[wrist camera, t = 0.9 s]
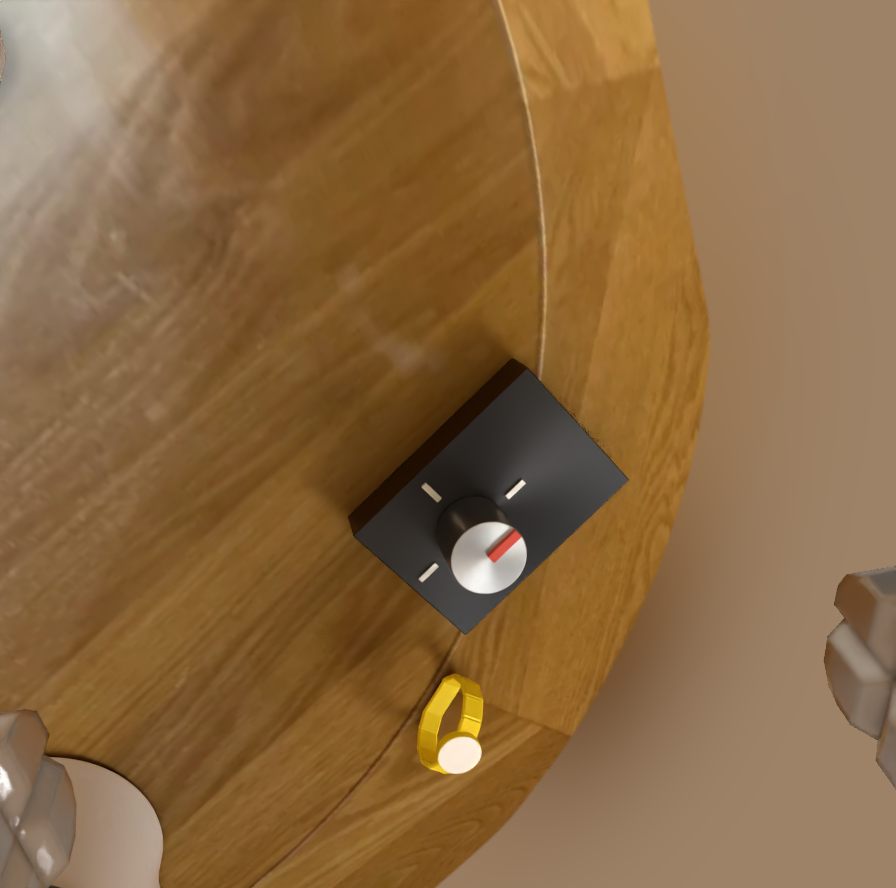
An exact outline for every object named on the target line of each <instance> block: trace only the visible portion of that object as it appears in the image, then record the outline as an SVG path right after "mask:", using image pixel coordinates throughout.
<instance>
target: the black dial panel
mask: <svg viewBox="0 0 896 888" xmlns="http://www.w3.org/2000/svg"><path fill="white" fill-rule="evenodd" d="M627 481H629V479H628V478H627V477H626V476H625V475H624V474H623V472H622V471H621V470H620V469H619V468H618V467H617V466H616V465H615V464H614V462H613V461H612V460H611V459H610V458H609V457H608V456H607V455H606V454H605V453H604V451H603V450H602V449H601V448H600V447H599V446H598V445H597V444H596V443H595V441H594V440H593V439H592V438H591V437H590V436H589V435H588V434H587V433H586V432H585V430H584V429H583V428H582V427H581V426H580V425H579V424H578V423H577V422H576V420H575V419H574V418H573V417H572V416H571V415H570V414H569V413H568V412H567V411H566V409H565V408H564V407H563V406H562V405H561V404H560V403H559V402H558V401H557V399H556V398H555V397H554V396H553V395H552V394H551V393H550V392H549V391H548V390H547V388H546V387H545V386H544V385H543V384H542V383H541V382H540V381H539V380H538V378H537V377H536V376H535V375H534V374H533V373H532V372H531V371H530V370H529V369H528V368H527V367H526V366H524V365H523V364H521V363H520V362H518V361H517V360H515V359H514V358H512V359H511V360H510V361H509V362H508V363H507V364H506V365H505V366H504V367H502V368H501V369H500V370H499V371H498V372H497V373H496V374H495V375H494V376H493V377H492V378H491V379H490V380H489V381H488V382H487V383H486V384H485V385H484V386H483V387H482V388H481V389H480V390H479V391H478V392H477V393H476V394H475V395H474V396H473V397H471V398H470V399H469V400H468V401H467V402H466V403H465V404H464V405H463V406H462V407H461V408H460V409H459V410H458V411H457V412H456V413H455V414H454V415H453V416H452V417H451V418H450V419H449V420H448V421H447V422H446V423H445V424H444V425H443V426H441V427H440V428H439V429H438V430H437V431H436V432H435V433H434V434H433V435H432V436H431V437H430V438H429V439H428V440H427V441H426V442H425V443H424V444H423V445H422V446H421V447H420V448H419V449H418V450H417V451H416V452H415V453H414V454H413V455H412V456H410V457H409V458H408V459H407V460H406V461H405V462H404V463H403V464H402V465H401V466H400V467H399V468H398V469H397V470H396V471H395V472H394V473H393V474H392V475H391V476H390V477H389V478H388V479H387V480H386V481H385V482H384V483H383V484H382V485H380V486H379V487H378V488H377V489H376V490H375V491H374V492H373V493H372V494H371V495H370V496H369V497H368V498H367V499H366V500H365V501H364V502H363V503H362V504H361V505H360V506H359V507H358V508H357V509H356V510H355V511H354V512H353V513H352V514H351V515H349V516H348V519H349V522H350V525H351V529H352V532H353V536H354V537H355V538H356V539H357V540H359V541H360V542H361V543H362V544H363V545H364V546H365V547H366V548H368V549H369V550H370V551H371V552H372V553H373V554H374V555H375V556H377V557H378V558H379V559H380V560H381V561H382V562H383V563H385V564H386V565H387V566H388V567H389V568H390V569H391V570H392V571H394V572H395V573H396V574H397V575H398V576H399V577H400V578H401V579H403V580H404V581H405V582H406V583H407V584H408V585H409V586H411V587H412V588H413V589H414V590H415V591H416V592H417V593H418V594H420V595H421V596H422V597H423V598H424V599H425V600H426V601H427V602H429V603H430V604H431V605H432V606H433V607H434V608H435V609H437V610H438V611H439V612H440V613H441V614H442V615H443V616H444V617H446V618H447V619H448V620H449V621H450V622H451V623H452V624H453V625H455V626H456V627H457V628H458V629H459V630H460V631H461V632H462V633H464V634H465V635H466V634H467V633H468V632H469V631H471V630H472V629H473V628H474V627H475V626H476V625H477V624H478V623H479V622H480V621H481V620H482V619H483V618H484V617H485V616H486V615H487V614H488V613H489V612H491V611H492V610H493V609H494V608H495V607H496V606H497V605H498V604H499V603H500V602H501V601H502V600H503V599H504V598H505V597H506V596H507V595H508V594H509V593H511V592H512V591H513V590H514V589H515V588H516V587H517V586H518V585H519V584H520V583H521V582H522V581H523V580H524V579H525V578H526V577H527V576H528V575H529V574H531V573H532V572H533V571H534V570H535V569H536V568H537V567H538V566H539V565H540V564H541V563H542V562H543V561H544V560H545V559H546V558H547V557H548V556H550V555H551V554H552V553H553V552H554V551H555V550H556V549H557V548H558V547H559V546H560V545H561V544H562V543H563V542H564V541H565V540H566V539H567V538H568V537H570V536H571V535H572V534H573V533H574V532H575V531H576V530H577V529H578V528H579V527H580V526H581V525H582V524H583V523H584V522H585V521H586V520H587V519H588V518H590V517H591V516H592V515H593V514H594V513H595V512H596V511H597V510H598V509H599V508H600V507H601V506H602V505H603V504H604V503H605V502H606V501H607V500H608V499H610V498H611V497H612V496H613V495H614V494H615V493H616V492H617V491H618V490H619V489H620V488H621V487H622V486H623V485H624V484H625V483H626V482H627ZM467 497H483V498H487V499H489V500H491V501H493V502H495V503H496V504H497V505H498V506H499V507H500V508H501V509H502V511H503V512H504V513H505V514H506V516H507V517H508V518H509V520H510V521H511V522H512V524H513V525H514V526H515V527H516V529H517V530H518V531H519V533H520V534H521V536H522V537H523V539H524V541H525V544H526V549H527V558H526V563H525V566H524V568H523V571H522V572H521V574H520V576H519V577H518V578H517V579H516V580H515V581H514V582H513V583H512V584H511V585H510V586H508V587H507V588H505V589H503V590H501V591H498V592H495V593H491V594H478V593H474V592H471V591H468V590H467V589H465V588H463V587H462V586H461V585H460V584H459V583H458V582H457V581H456V579H455V578H454V576H453V574H452V572H451V570H450V568H449V566H448V564H447V562H446V560H445V558H444V557H443V555H442V553H441V551H440V549H439V547H438V544H437V541H436V528H437V524H438V521H439V519H440V517H441V515H442V514H443V512H444V511H445V510H446V509H447V508H448V507H449V506H450V505H451V504H453V503H454V502H456V501H458V500H460V499H463V498H467Z"/></svg>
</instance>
